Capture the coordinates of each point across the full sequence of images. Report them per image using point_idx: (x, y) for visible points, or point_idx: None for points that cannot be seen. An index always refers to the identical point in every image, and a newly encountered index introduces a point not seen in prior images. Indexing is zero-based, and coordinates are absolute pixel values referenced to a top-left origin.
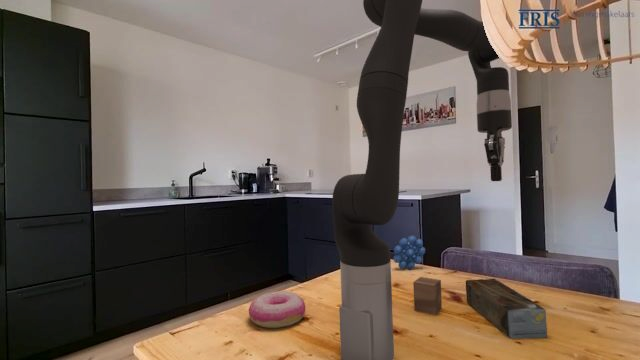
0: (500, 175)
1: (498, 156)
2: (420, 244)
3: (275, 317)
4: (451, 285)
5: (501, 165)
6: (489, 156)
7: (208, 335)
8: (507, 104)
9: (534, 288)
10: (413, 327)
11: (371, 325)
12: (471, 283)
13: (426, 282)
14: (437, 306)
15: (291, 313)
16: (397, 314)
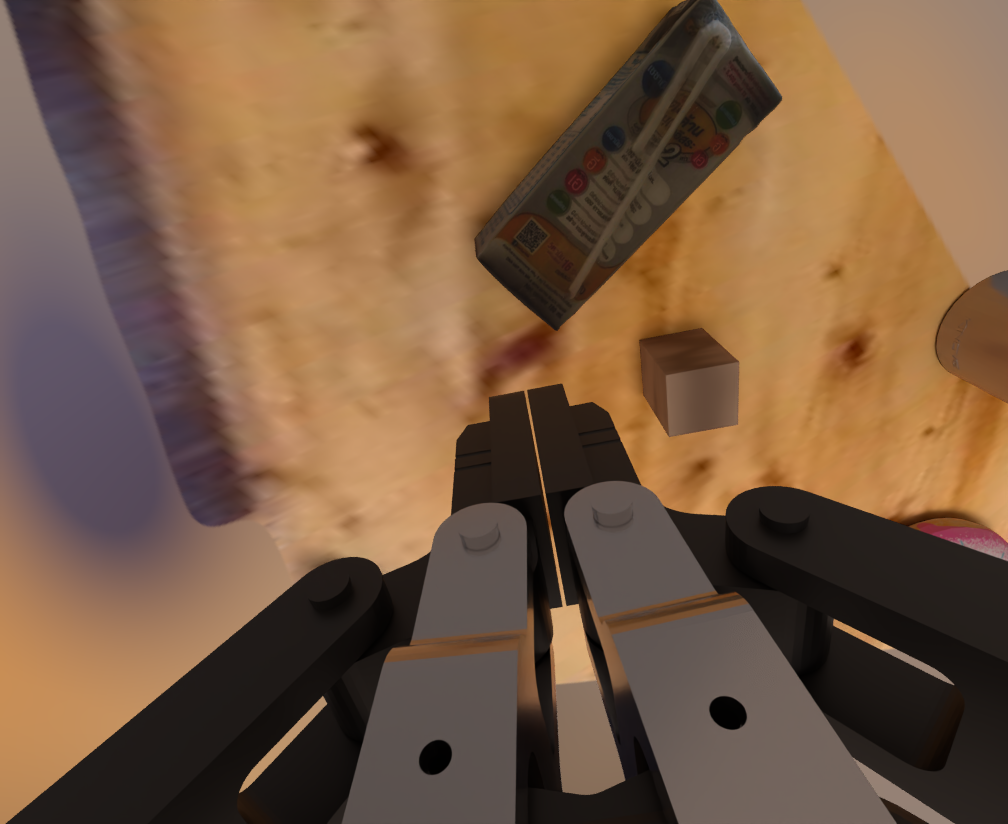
0: (570, 409)
1: (928, 556)
2: None
3: (1003, 539)
4: (422, 412)
5: (499, 505)
6: (885, 700)
7: None
8: None
9: (212, 184)
10: (810, 329)
11: None
12: (583, 301)
13: (720, 393)
14: (685, 338)
15: (974, 531)
16: (754, 400)
